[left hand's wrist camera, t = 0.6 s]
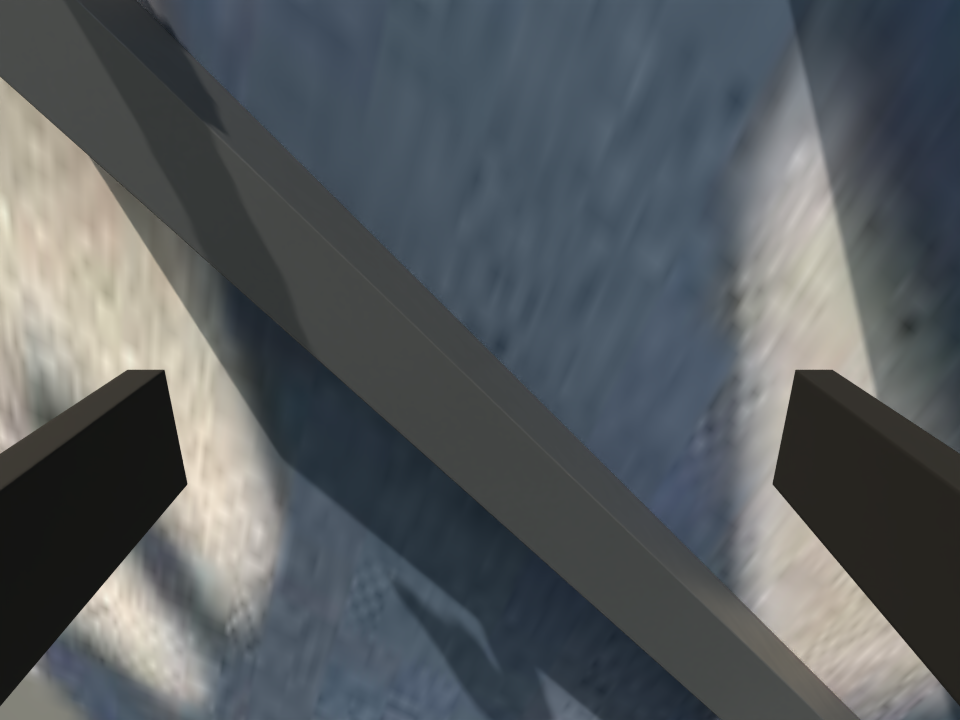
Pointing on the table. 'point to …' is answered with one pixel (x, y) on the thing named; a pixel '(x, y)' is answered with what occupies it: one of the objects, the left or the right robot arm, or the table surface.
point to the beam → (389, 340)
